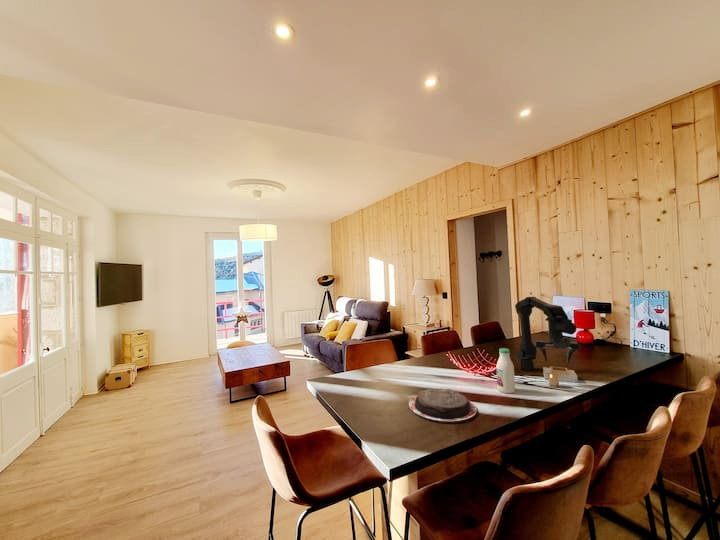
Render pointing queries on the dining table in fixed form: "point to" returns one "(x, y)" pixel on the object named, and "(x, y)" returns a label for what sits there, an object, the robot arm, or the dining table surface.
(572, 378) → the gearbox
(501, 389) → the milk bottle
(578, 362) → the dining table surface
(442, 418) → the chocolate cake
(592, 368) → the dining table surface
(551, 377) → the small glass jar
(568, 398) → the dining table surface
